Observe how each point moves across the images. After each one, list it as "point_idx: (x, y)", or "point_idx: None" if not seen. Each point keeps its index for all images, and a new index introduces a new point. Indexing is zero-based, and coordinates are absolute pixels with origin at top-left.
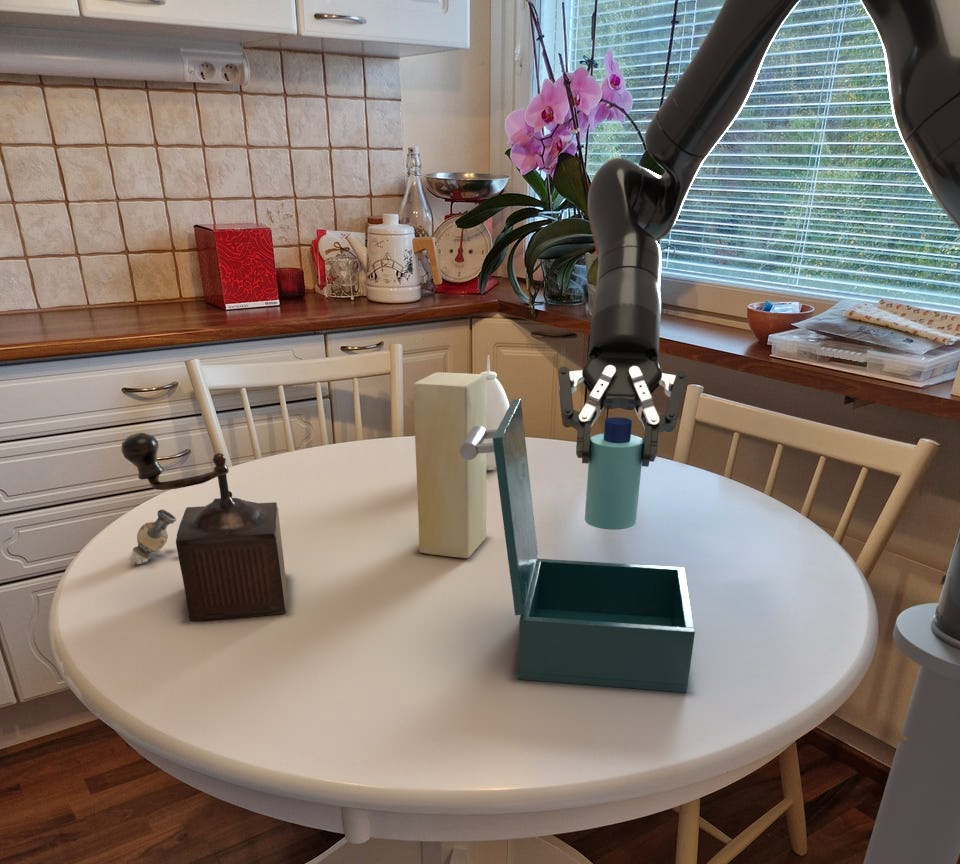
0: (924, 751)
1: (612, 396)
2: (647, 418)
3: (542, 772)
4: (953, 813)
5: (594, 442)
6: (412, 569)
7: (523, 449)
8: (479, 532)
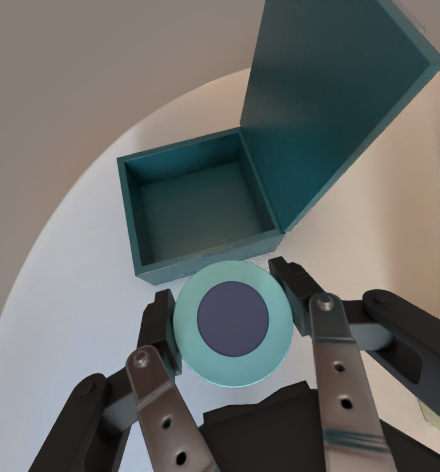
0: None
1: (286, 399)
2: (159, 355)
3: (194, 97)
4: None
5: (268, 275)
6: (428, 288)
7: (339, 118)
8: None
